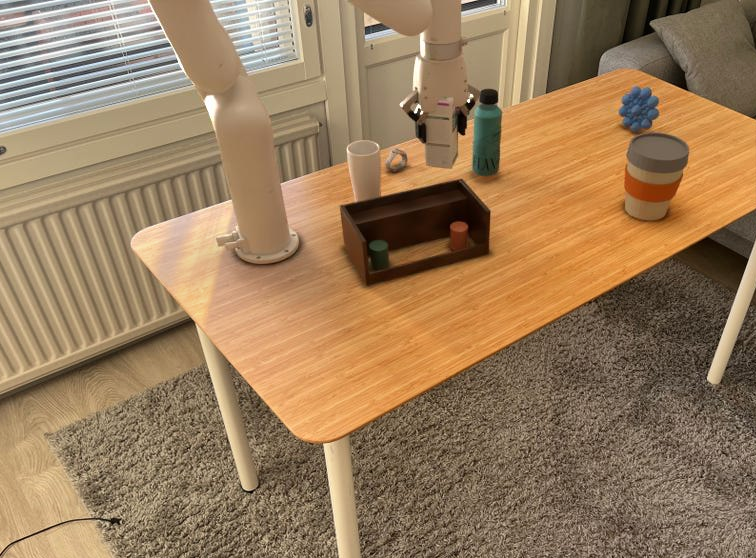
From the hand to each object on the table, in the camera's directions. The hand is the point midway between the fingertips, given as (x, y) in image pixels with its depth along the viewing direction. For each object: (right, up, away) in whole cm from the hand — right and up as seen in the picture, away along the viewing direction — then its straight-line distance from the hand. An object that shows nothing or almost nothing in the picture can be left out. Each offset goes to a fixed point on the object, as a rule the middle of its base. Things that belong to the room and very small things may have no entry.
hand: (441, 136), depth 143 cm
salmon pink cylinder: (+4, -22, +2) cm, 22 cm away
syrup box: (0, -4, +4) cm, 6 cm away
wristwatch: (-11, 0, +24) cm, 26 cm away
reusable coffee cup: (+45, -12, +13) cm, 48 cm away
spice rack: (-5, -23, 0) cm, 23 cm away
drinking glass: (-16, -13, +10) cm, 23 cm away
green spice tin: (-12, -27, -4) cm, 30 cm away
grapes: (+49, +14, +40) cm, 65 cm away
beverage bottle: (+10, -2, +22) cm, 24 cm away
